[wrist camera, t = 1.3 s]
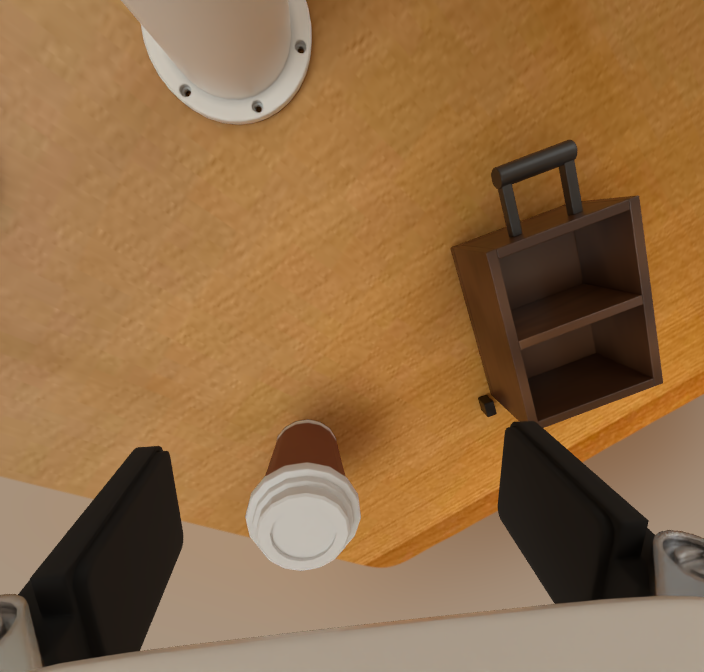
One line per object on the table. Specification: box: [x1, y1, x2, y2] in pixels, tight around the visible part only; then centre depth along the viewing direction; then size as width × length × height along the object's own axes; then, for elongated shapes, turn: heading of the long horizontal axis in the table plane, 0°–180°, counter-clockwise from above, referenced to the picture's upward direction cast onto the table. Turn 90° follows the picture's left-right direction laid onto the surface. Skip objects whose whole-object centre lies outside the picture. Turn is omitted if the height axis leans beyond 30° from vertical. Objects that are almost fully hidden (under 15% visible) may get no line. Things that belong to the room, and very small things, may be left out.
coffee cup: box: [245, 420, 361, 571], centre depth 35 cm, size 9×9×12 cm
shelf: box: [451, 140, 663, 428], centre depth 34 cm, size 21×12×8 cm, turn 20°
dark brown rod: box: [478, 395, 497, 417], centre depth 40 cm, size 2×15×2 cm, turn 110°
